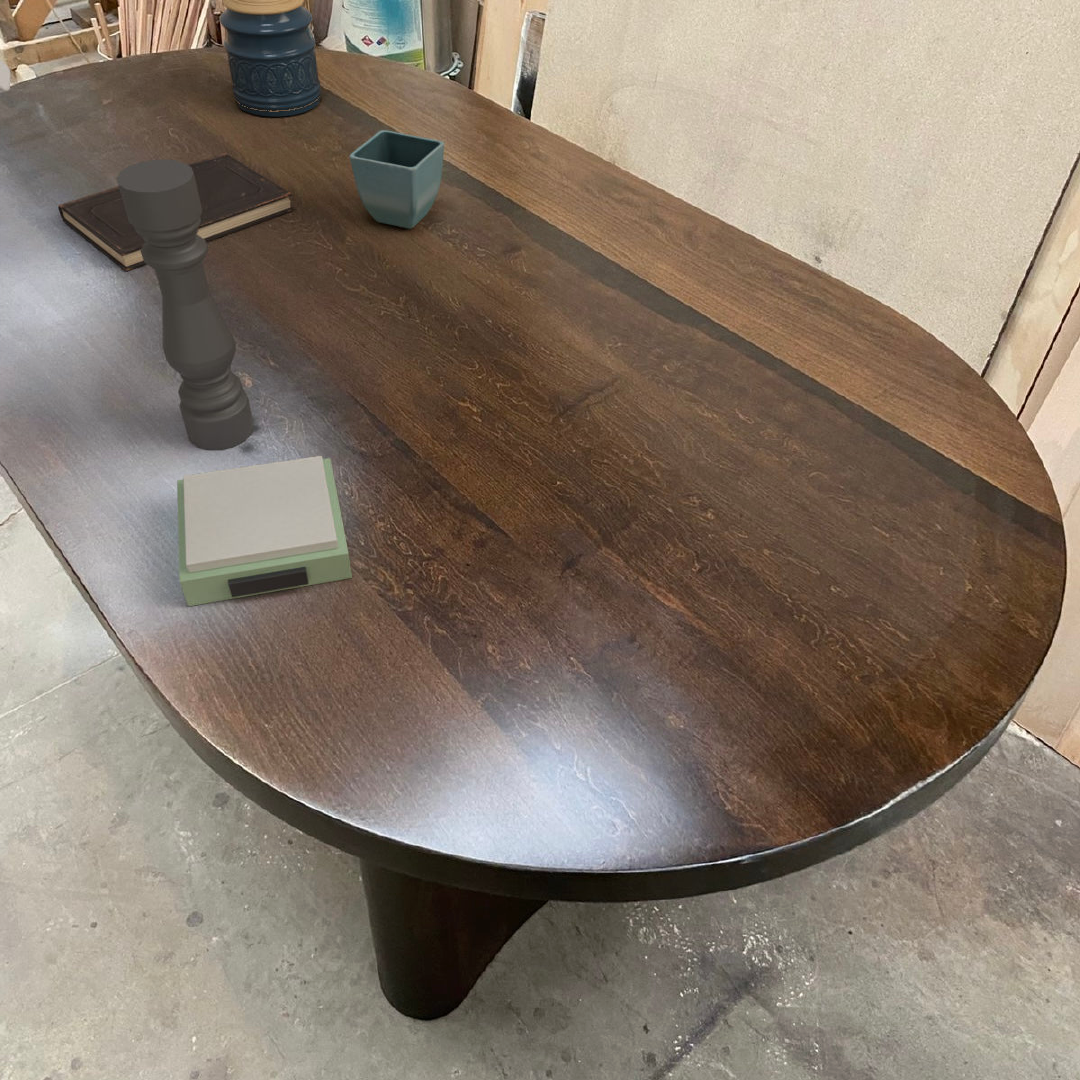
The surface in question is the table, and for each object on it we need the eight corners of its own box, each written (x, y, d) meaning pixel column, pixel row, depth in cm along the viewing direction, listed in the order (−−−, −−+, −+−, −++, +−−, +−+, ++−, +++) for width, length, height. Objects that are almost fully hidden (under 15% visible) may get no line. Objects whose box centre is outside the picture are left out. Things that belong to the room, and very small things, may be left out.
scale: (188, 611, 76) (176, 577, 73) (184, 505, 84) (174, 471, 82) (353, 582, 79) (347, 548, 76) (334, 482, 87) (328, 448, 84)
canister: (304, 79, 153) (288, -47, 140) (335, 109, 145) (320, -21, 132) (223, 93, 148) (199, -37, 135) (250, 124, 140) (227, -9, 127)
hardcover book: (294, 210, 123) (291, 193, 121) (126, 271, 111) (120, 253, 109) (226, 167, 130) (222, 151, 129) (62, 221, 118) (56, 203, 117)
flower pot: (386, 196, 126) (381, 127, 120) (448, 209, 124) (446, 140, 118) (354, 226, 120) (347, 155, 114) (418, 240, 118) (414, 169, 112)
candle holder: (239, 454, 89) (176, 198, 72) (176, 445, 90) (97, 189, 72) (263, 413, 94) (209, 162, 76) (202, 405, 94) (135, 154, 76)
